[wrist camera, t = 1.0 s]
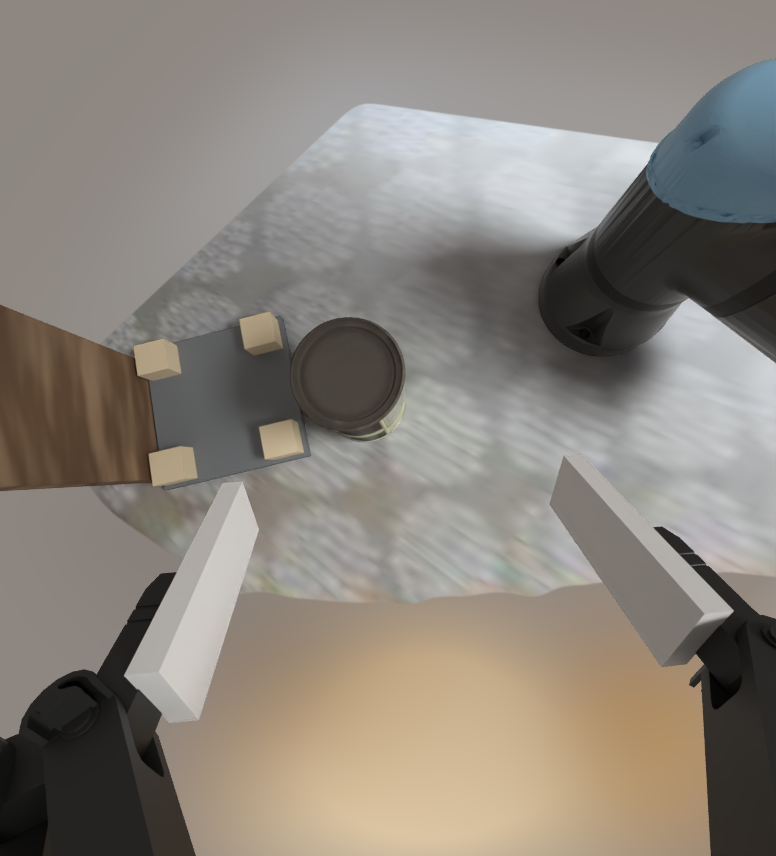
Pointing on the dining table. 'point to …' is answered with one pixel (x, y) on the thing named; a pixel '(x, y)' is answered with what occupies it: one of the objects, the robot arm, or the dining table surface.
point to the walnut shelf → (69, 410)
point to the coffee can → (350, 378)
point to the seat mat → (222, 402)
